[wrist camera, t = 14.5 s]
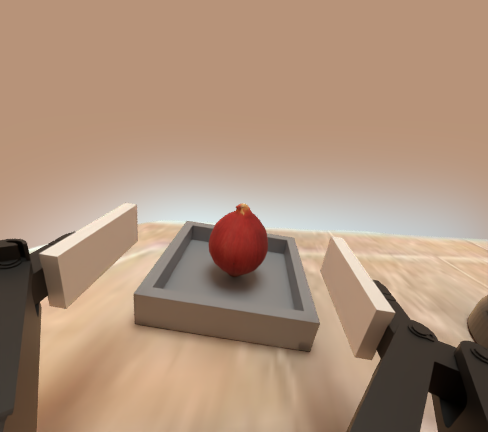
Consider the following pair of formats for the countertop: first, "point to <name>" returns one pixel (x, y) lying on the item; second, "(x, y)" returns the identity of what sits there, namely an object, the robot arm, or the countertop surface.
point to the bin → (229, 294)
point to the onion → (238, 242)
